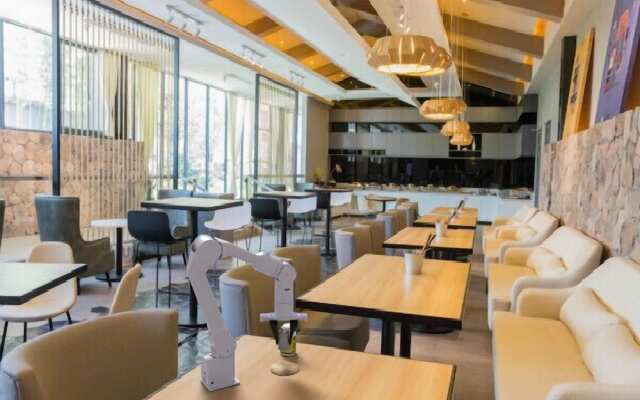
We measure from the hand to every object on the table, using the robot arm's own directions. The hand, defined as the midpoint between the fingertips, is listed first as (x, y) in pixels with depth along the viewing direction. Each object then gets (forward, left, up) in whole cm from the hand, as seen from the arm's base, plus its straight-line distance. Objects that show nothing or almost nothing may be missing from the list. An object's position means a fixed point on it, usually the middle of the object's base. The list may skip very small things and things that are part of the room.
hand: (283, 343), depth 156 cm
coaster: (+1, +1, -9) cm, 9 cm away
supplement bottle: (+8, +11, -9) cm, 16 cm away
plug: (0, 0, -2) cm, 2 cm away
